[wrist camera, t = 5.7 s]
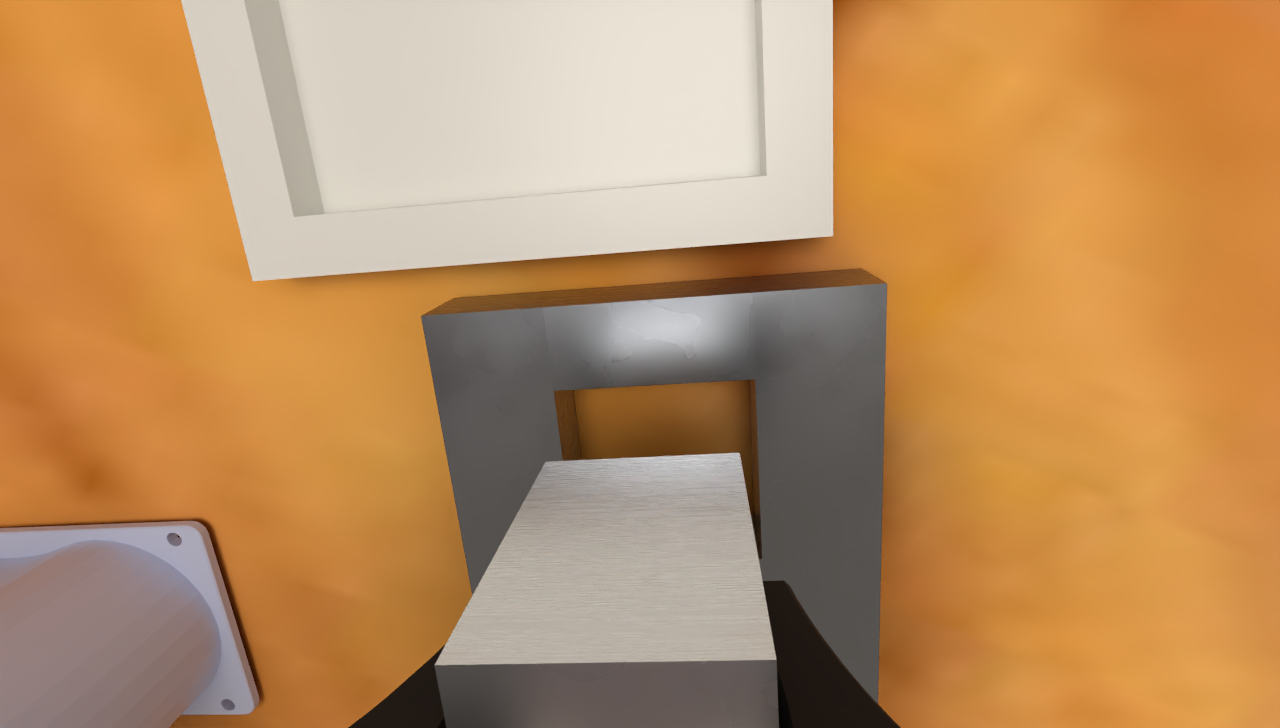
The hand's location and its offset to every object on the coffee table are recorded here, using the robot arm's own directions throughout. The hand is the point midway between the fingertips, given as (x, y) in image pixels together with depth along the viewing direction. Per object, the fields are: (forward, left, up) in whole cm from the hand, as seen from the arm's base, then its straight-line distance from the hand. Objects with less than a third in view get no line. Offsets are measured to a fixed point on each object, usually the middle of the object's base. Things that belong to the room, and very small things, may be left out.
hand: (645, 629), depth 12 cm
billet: (0, +1, -2) cm, 2 cm away
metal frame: (0, -5, -9) cm, 10 cm away
